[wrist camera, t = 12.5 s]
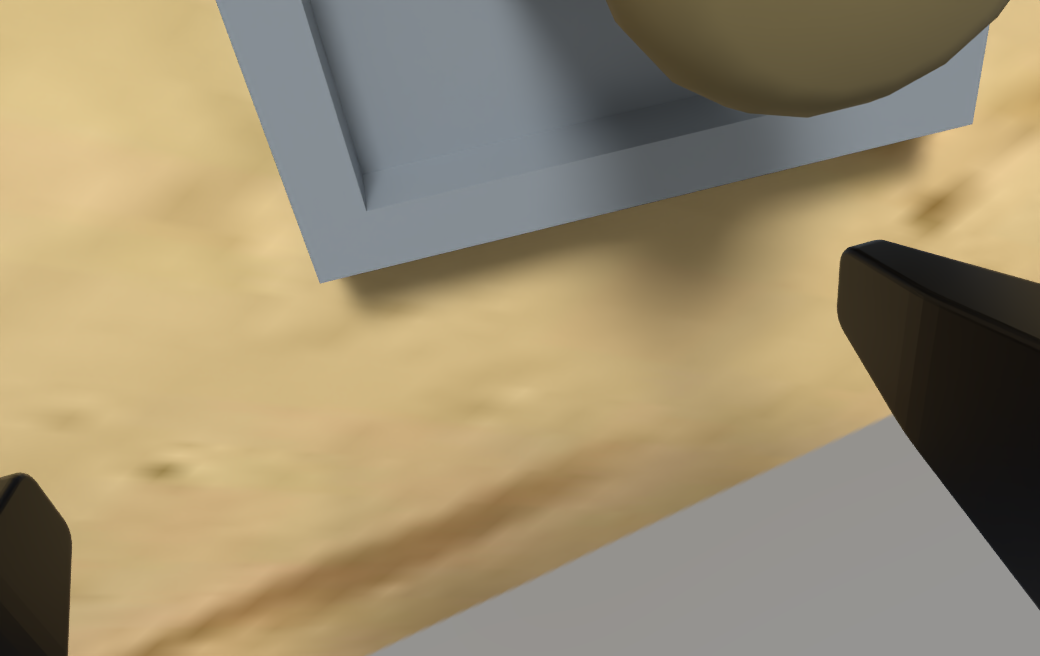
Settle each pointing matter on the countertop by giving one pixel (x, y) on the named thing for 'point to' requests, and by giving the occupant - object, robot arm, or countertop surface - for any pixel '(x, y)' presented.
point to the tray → (512, 121)
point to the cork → (800, 47)
